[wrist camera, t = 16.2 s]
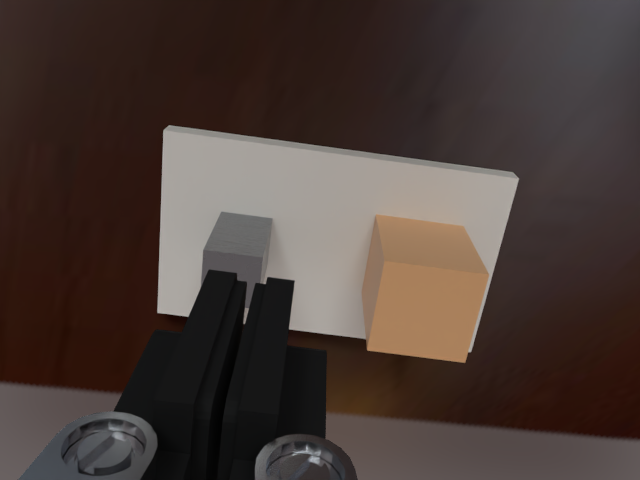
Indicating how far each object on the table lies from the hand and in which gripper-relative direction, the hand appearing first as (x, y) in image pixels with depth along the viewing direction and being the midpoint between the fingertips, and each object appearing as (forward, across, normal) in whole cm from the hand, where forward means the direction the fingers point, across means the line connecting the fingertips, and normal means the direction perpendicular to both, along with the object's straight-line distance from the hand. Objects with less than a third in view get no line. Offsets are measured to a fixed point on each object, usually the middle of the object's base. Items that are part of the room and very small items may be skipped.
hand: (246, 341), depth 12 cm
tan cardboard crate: (+30, -9, +11) cm, 33 cm away
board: (+31, -3, +11) cm, 33 cm away
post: (+31, +3, +11) cm, 33 cm away
